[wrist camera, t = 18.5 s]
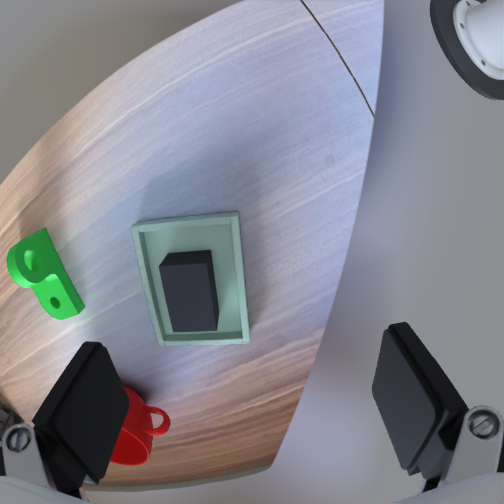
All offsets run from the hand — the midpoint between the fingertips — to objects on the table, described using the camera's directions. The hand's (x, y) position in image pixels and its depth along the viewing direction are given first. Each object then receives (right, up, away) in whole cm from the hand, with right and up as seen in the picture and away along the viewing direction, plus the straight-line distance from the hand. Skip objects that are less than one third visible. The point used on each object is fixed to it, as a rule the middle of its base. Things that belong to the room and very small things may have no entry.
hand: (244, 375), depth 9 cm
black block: (-6, 0, +25) cm, 26 cm away
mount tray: (-6, +1, +26) cm, 26 cm away
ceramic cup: (-19, -19, +33) cm, 42 cm away
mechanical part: (-27, +1, +25) cm, 37 cm away
